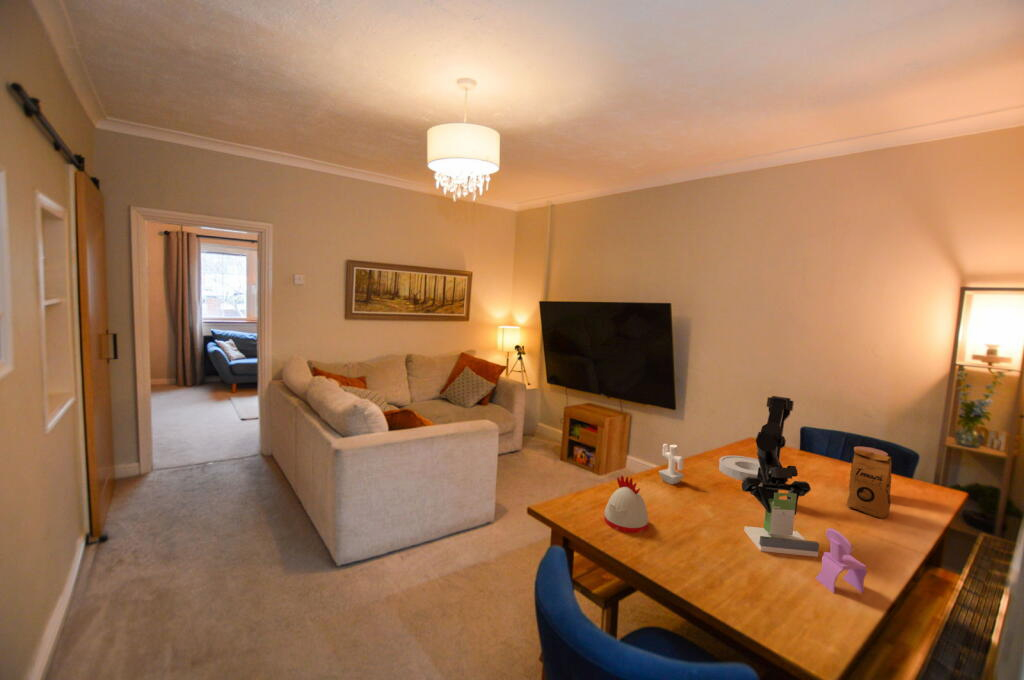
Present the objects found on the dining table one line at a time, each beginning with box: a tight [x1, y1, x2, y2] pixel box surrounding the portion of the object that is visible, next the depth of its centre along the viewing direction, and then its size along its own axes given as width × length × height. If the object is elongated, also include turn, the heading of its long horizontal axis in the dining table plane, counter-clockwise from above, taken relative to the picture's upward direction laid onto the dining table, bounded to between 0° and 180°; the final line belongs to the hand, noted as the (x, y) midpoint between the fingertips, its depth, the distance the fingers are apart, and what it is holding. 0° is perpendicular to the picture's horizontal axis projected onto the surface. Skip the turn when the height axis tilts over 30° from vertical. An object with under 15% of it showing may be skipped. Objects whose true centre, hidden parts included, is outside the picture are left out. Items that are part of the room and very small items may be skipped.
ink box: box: [763, 492, 797, 535], centre depth 142 cm, size 7×4×13 cm, turn 87°
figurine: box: [658, 443, 685, 485], centre depth 185 cm, size 7×9×15 cm
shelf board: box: [743, 525, 820, 558], centre depth 141 cm, size 12×16×4 cm
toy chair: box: [815, 527, 868, 594], centre depth 120 cm, size 8×9×15 cm
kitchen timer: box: [603, 475, 649, 534], centre depth 149 cm, size 14×14×15 cm
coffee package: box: [846, 449, 892, 520], centre depth 166 cm, size 10×12×22 cm
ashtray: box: [718, 455, 760, 482], centre depth 199 cm, size 23×23×4 cm
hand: (782, 513), depth 140 cm, fingers closed on ink box, 7 cm apart
